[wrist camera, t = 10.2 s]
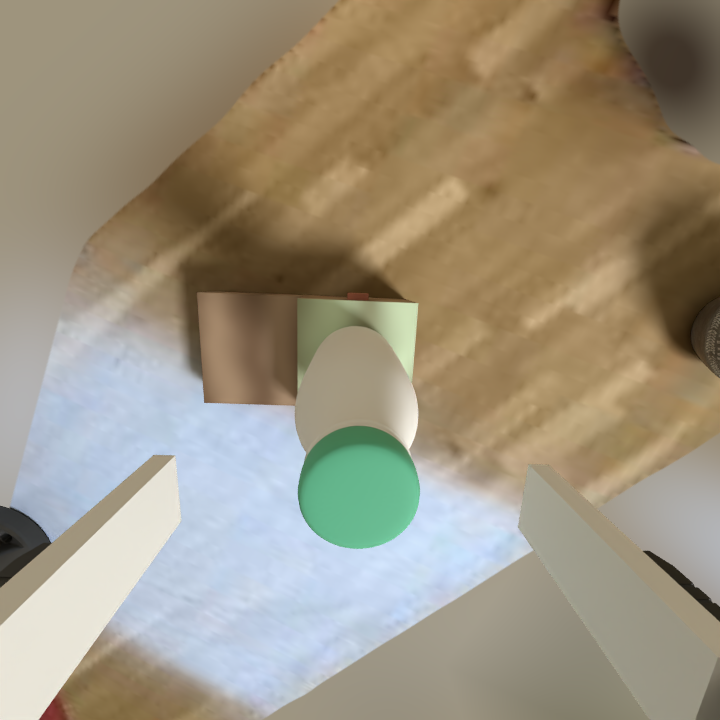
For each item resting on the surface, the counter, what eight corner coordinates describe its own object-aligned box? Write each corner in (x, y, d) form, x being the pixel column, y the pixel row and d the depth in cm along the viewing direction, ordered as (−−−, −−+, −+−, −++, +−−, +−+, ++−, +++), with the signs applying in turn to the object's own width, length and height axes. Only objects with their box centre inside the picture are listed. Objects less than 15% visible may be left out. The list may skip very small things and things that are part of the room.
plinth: (219, 395, 41) (185, 424, 32) (212, 285, 38) (173, 286, 30) (397, 401, 41) (408, 430, 33) (404, 293, 38) (418, 296, 30)
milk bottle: (297, 368, 31) (208, 510, 12) (351, 307, 30) (349, 354, 11) (358, 418, 33) (367, 620, 13) (412, 361, 31) (509, 491, 12)
